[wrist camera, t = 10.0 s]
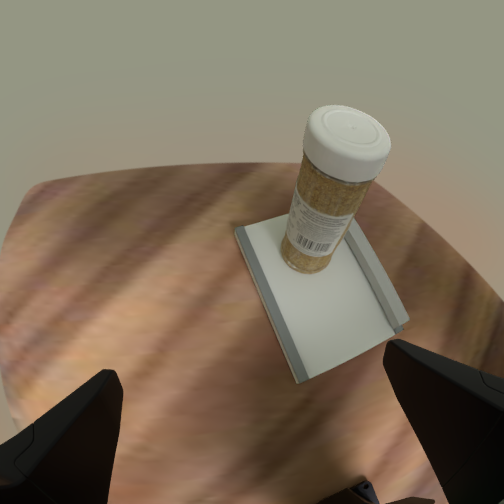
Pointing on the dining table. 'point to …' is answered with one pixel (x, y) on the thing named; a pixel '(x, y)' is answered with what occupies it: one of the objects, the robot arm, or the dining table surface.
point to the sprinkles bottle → (331, 183)
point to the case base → (322, 298)
